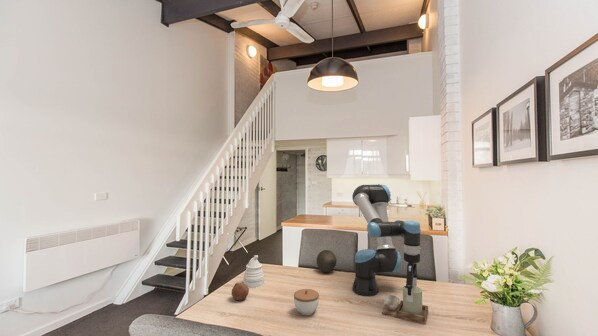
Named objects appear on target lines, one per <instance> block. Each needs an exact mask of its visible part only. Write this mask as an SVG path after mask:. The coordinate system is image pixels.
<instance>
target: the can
mask: <svg viewBox="0 0 598 336" xmlns="http://www.w3.org/2000/svg"><path fill="white" fill-rule="evenodd" d="M405 286H406V285H404V286H402V301H403V312H407V313H411V314H416V315H420V316H422V314H423V313H422V305H423V289H422V288H421V287H419V286H412V287H413V302H409V301H407V288H405ZM408 286H409V285H408Z"/></svg>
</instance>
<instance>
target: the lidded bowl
mask: <svg viewBox="0 0 598 336" xmlns="http://www.w3.org/2000/svg"><path fill="white" fill-rule="evenodd" d="M319 296H320V295H319V292H318V291H317V290H315V289H311V288H301V289H298V290H296V291H295V292H294V293H293V297H294V298H293V299H294V300H293V301H294V306H295V309H296V310H297V311H298V313H299V314H300V315H301V316H311V315H313V314H314V313H315V311H316V310H317V309H318V306H319Z"/></svg>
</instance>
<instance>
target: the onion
mask: <svg viewBox="0 0 598 336" xmlns="http://www.w3.org/2000/svg"><path fill="white" fill-rule="evenodd" d="M249 293H250V288H248V286H247V285H246V284H244V282H242V283H238V282H236V283H235V284H234V286H233V287H232V289H231V296H232V298H233V299H234V300H236V301H244V300H246V299H247V297H248V295H249Z"/></svg>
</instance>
